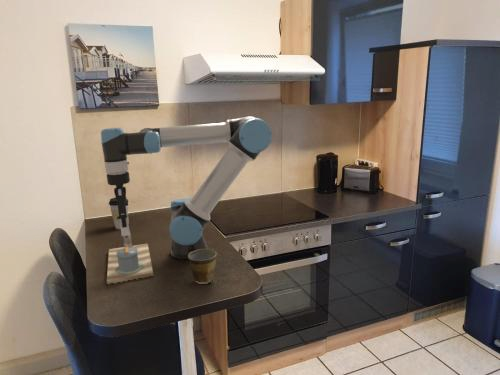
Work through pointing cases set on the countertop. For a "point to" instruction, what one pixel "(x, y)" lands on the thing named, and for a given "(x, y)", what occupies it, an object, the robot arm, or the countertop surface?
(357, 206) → the countertop surface
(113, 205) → the coffee cup
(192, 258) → the ceramic cup
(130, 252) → the cap
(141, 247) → the bayonet board
